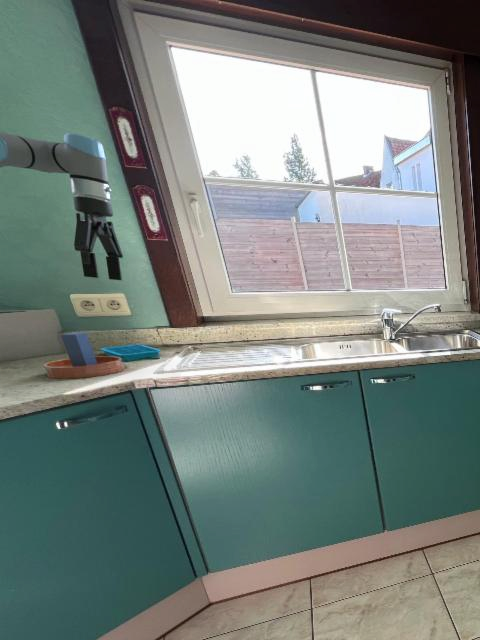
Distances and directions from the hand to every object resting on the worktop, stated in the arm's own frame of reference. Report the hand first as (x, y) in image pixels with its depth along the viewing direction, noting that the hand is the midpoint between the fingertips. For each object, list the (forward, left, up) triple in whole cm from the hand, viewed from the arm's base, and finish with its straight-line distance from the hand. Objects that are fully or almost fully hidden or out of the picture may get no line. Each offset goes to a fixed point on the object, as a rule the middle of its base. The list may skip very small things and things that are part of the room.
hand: (104, 278), depth 142 cm
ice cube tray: (-5, +37, -29) cm, 47 cm away
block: (-13, +12, -28) cm, 33 cm away
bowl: (-13, +12, -29) cm, 34 cm away
